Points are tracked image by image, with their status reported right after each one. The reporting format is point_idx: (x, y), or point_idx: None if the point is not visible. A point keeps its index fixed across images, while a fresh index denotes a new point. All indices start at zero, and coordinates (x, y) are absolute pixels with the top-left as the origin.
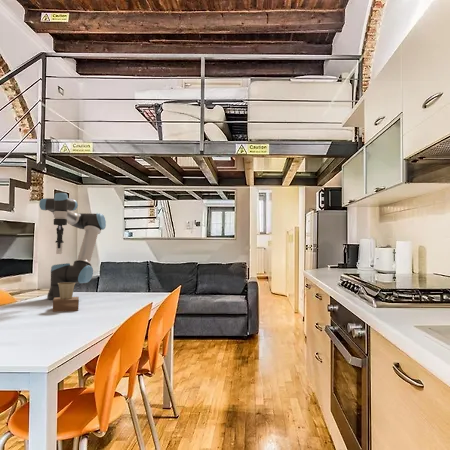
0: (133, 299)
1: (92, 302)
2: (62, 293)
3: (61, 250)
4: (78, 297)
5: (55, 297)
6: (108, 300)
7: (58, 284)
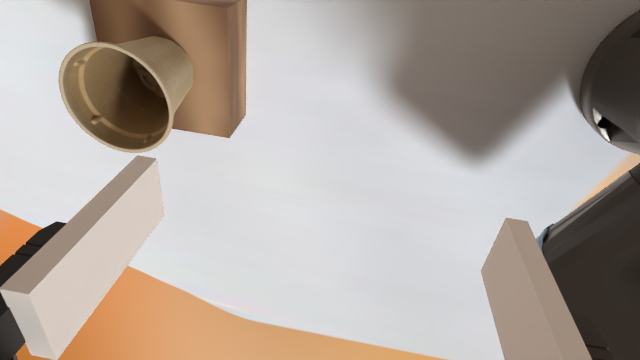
0: (386, 332)
1: (374, 196)
2: (115, 53)
3: (494, 300)
4: (196, 132)
5: (226, 15)
6: (406, 262)
7: (98, 45)
